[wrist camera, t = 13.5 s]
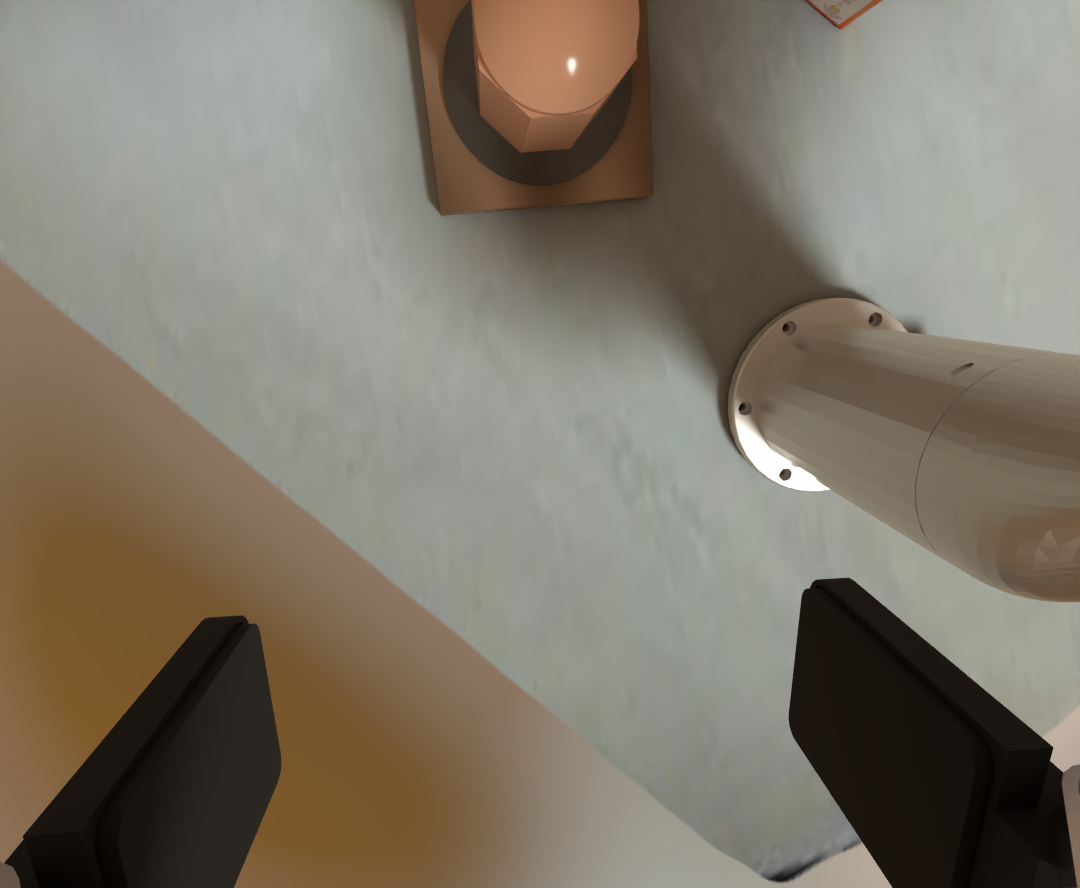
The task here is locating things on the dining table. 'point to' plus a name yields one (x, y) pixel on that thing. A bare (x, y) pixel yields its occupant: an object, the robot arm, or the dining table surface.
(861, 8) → the cracker box
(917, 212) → the dining table surface
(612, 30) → the orange cylinder peg
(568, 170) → the board
